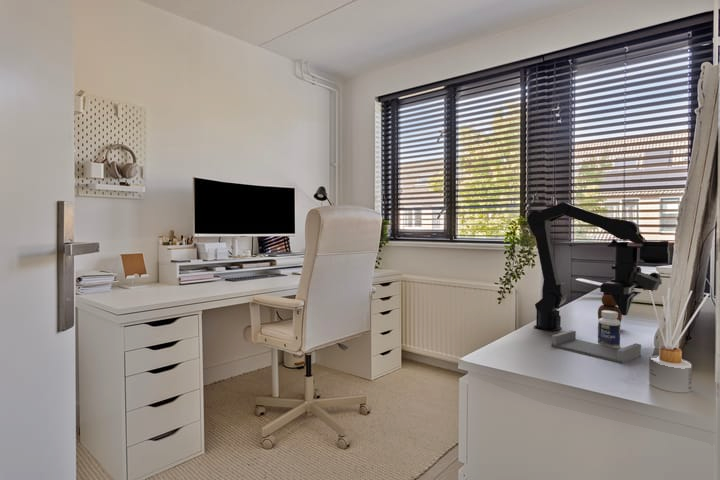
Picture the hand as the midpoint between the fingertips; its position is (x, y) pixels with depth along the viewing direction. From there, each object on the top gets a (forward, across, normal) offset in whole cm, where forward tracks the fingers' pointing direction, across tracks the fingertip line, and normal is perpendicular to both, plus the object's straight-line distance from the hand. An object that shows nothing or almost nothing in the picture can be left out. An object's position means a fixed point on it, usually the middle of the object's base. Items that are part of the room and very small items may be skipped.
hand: (624, 315), depth 120 cm
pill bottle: (+8, -10, 0) cm, 13 cm away
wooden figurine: (+8, +14, +10) cm, 19 cm away
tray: (+8, -18, 0) cm, 20 cm away
